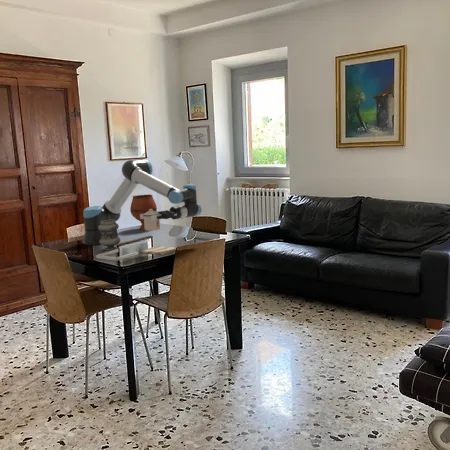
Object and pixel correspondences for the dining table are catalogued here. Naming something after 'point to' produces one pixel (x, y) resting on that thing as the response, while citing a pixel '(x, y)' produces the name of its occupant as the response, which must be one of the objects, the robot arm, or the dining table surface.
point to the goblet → (142, 207)
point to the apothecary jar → (109, 235)
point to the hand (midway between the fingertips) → (145, 217)
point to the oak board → (159, 250)
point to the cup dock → (103, 256)
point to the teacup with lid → (150, 224)
